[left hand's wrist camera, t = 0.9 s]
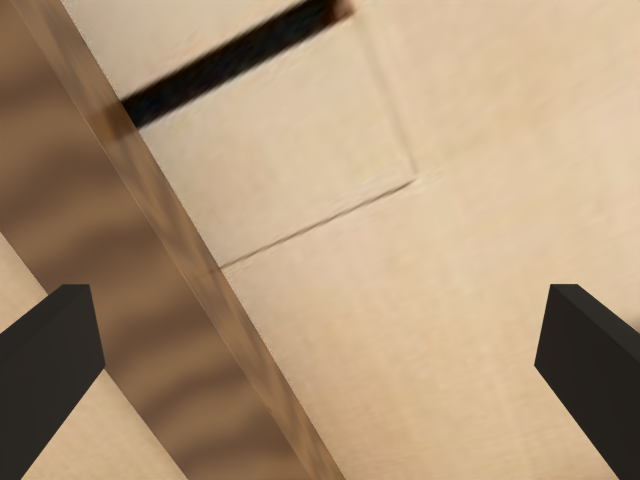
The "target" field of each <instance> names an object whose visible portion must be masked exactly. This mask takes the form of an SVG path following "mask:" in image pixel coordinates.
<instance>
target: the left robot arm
mask: <svg viewBox="0 0 640 480" xmlns="http://www.w3.org/2000/svg"><path fill="white" fill-rule="evenodd" d="M105 366H106V363H105V358H104V353H103V349H102V344H101V339H100V334H99V329H98V324H97V319H96V314H95V309H94V304H93V299H92V294H91V289H90V284H62V285H61V286H60V287H58V288H57V289H56V290H55V291H53V292H52V293H51V294H50V295H48V296H47V297H46V298H45V299H43V300H42V301H41V302H40V303H38V304H37V305H36V306H35V307H33V308H32V309H31V310H30V311H28V312H27V313H26V314H25V315H23V316H22V317H21V318H20V319H18V320H17V321H16V322H15V323H13V324H12V325H11V326H10V327H8V328H7V329H6V330H5V331H3V332H2V333H1V334H0V480H21V478H22V477H23V476H24V474H25V473H26V472H27V470H28V469H29V468H30V466H31V465H32V464H33V462H34V461H35V460H36V458H37V457H38V456H39V454H40V453H41V452H42V450H43V449H44V448H45V446H46V445H47V444H48V442H49V441H50V440H51V438H52V437H53V436H54V434H55V433H56V432H57V430H58V429H59V428H60V426H61V425H62V424H63V422H64V421H65V420H66V418H67V417H68V415H69V414H70V413H71V411H72V410H73V409H74V407H75V406H76V405H77V403H78V402H79V401H80V399H81V398H82V397H83V395H84V394H85V393H86V391H87V390H88V389H89V387H90V386H91V385H92V383H93V382H94V381H95V379H96V378H97V377H98V375H99V374H100V373H101V371H102V370H103V369H104V367H105ZM534 366H535V367H536V369H537V370H538V371H539V373H540V374H541V375H542V377H543V378H544V379H545V381H546V382H547V383H548V385H549V386H550V387H551V389H552V390H553V391H554V393H555V394H556V395H557V397H558V398H559V399H560V401H561V402H562V403H563V405H564V406H565V407H566V409H567V410H568V411H569V413H570V414H571V416H572V417H573V418H574V420H575V421H576V422H577V424H578V425H579V426H580V428H581V429H582V430H583V432H584V433H585V434H586V436H587V437H588V438H589V440H590V441H591V442H592V444H593V445H594V446H595V448H596V449H597V450H598V452H599V453H600V454H601V456H602V457H603V458H604V460H605V461H606V462H607V464H608V465H609V466H610V468H611V469H612V470H613V472H614V473H615V474H616V476H617V477H618V478H619V480H640V334H639V333H638V332H637V331H635V330H634V329H633V328H632V327H630V326H629V325H628V324H627V323H625V322H624V321H623V320H622V319H620V318H619V317H618V316H617V315H615V314H614V313H613V312H612V311H610V310H609V309H608V308H607V307H605V306H604V305H603V304H602V303H600V302H599V301H598V300H597V299H595V298H594V297H593V296H592V295H590V294H589V293H588V292H587V291H585V290H584V289H583V288H582V287H580V286H579V285H578V284H550V289H549V294H548V299H547V304H546V309H545V314H544V319H543V324H542V329H541V334H540V339H539V344H538V348H537V353H536V358H535V363H534Z"/></svg>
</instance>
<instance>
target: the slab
mask: <svg viewBox="0 0 640 480" xmlns="http://www.w3.org/2000/svg"><path fill="white" fill-rule="evenodd" d="M0 232H1V233H2V234H3V236H4V237H5V238H6V240H7V241H8V242H9V244H10V245H11V246H12V248H13V249H14V250H15V251H16V253H17V254H18V255H19V257H20V258H21V259H22V261H23V262H24V263H25V265H26V266H27V267H28V269H29V270H30V271H31V273H32V274H33V275H34V277H35V278H36V279H37V281H38V282H39V283H40V284H41V286H42V287H43V288H44V290H45V291H46V292H47V294H48V295H50V294H51V293H52V292H53V291H55V290H56V289H57V288H58V287H60V286H61V285H62V284H90V289H91V294H92V299H93V304H94V309H95V314H96V319H97V324H98V329H99V334H100V339H101V344H102V349H103V353H104V358H105V363H106V366H105V367H104V369H105V370H106V372H107V373H108V374H109V376H110V377H111V378H112V380H113V381H114V382H115V383H116V385H117V386H118V387H119V389H120V390H121V391H122V393H123V394H124V395H125V397H126V398H127V399H128V401H129V402H130V403H131V405H132V406H133V407H134V409H135V410H136V411H137V413H138V414H139V415H140V416H141V418H142V419H143V420H144V422H145V423H146V424H147V426H148V427H149V428H150V430H151V431H152V432H153V434H154V435H155V436H156V438H157V439H158V440H159V442H160V443H161V444H162V445H163V447H164V448H165V449H166V451H167V452H168V453H169V455H170V456H171V457H172V459H173V460H174V461H175V463H176V464H177V465H178V467H179V468H180V469H181V471H182V472H183V473H184V475H185V476H186V477H187V478H188V480H345V478H344V477H343V475H342V473H341V472H340V470H339V468H338V467H337V465H336V463H335V461H334V460H333V458H332V456H331V455H330V453H329V451H328V450H327V448H326V446H325V445H324V443H323V441H322V440H321V438H320V436H319V435H318V433H317V431H316V430H315V428H314V426H313V425H312V423H311V421H310V419H309V418H308V416H307V414H306V413H305V411H304V409H303V408H302V406H301V404H300V403H299V401H298V399H297V398H296V396H295V394H294V393H293V391H292V389H291V388H290V386H289V384H288V383H287V381H286V379H285V377H284V376H283V374H282V372H281V371H280V369H279V367H278V366H277V364H276V362H275V361H274V359H273V357H272V356H271V354H270V352H269V351H268V349H267V347H266V346H265V344H264V342H263V341H262V339H261V337H260V335H259V334H258V332H257V330H256V329H255V327H254V325H253V324H252V322H251V320H250V319H249V317H248V315H247V314H246V312H245V310H244V309H243V307H242V305H241V304H240V302H239V300H238V298H237V297H236V295H235V293H234V292H233V290H232V288H231V287H230V285H229V283H228V282H227V280H226V278H225V277H224V275H223V273H222V272H221V270H220V268H219V267H218V265H217V263H216V262H215V260H214V258H213V256H212V255H211V253H210V251H209V250H208V248H207V246H206V245H205V243H204V241H203V240H202V238H201V236H200V235H199V233H198V231H197V230H196V228H195V226H194V225H193V223H192V221H191V220H190V218H189V216H188V214H187V213H186V211H185V209H184V208H183V206H182V204H181V203H180V201H179V199H178V198H177V196H176V194H175V193H174V191H173V189H172V188H171V186H170V184H169V183H168V181H167V179H166V178H165V176H164V174H163V172H162V171H161V169H160V167H159V166H158V164H157V162H156V161H155V159H154V157H153V156H152V154H151V152H150V151H149V149H148V147H147V146H146V144H145V142H144V141H143V139H142V137H141V136H140V134H139V132H138V130H137V129H136V127H135V125H134V124H133V122H132V120H131V119H130V117H129V115H128V114H127V112H126V110H125V109H124V107H123V105H122V104H121V102H120V100H119V99H118V97H117V95H116V94H115V92H114V90H113V88H112V87H111V85H110V83H109V82H108V80H107V78H106V77H105V75H104V73H103V72H102V70H101V68H100V67H99V65H98V63H97V62H96V60H95V58H94V57H93V55H92V53H91V51H90V50H89V48H88V46H87V45H86V43H85V41H84V40H83V38H82V36H81V35H80V33H79V31H78V30H77V28H76V26H75V25H74V23H73V21H72V20H71V18H70V16H69V15H68V13H67V11H66V9H65V8H64V6H63V4H62V3H61V1H60V0H0Z"/></svg>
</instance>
